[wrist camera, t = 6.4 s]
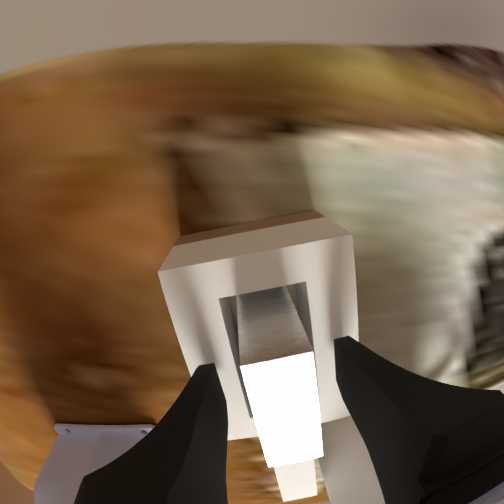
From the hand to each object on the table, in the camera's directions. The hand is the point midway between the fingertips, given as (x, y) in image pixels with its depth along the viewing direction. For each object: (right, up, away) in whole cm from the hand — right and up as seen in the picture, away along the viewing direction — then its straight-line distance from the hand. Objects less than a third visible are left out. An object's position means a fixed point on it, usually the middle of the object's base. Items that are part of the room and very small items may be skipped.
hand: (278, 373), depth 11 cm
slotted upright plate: (0, -3, +8) cm, 8 cm away
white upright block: (0, +1, +4) cm, 4 cm away
